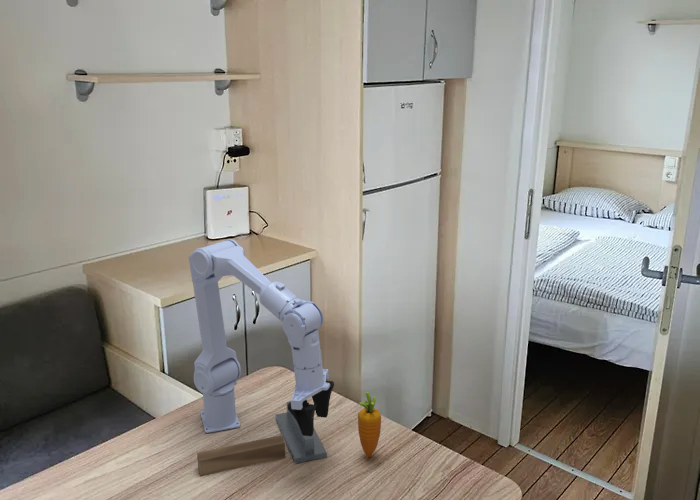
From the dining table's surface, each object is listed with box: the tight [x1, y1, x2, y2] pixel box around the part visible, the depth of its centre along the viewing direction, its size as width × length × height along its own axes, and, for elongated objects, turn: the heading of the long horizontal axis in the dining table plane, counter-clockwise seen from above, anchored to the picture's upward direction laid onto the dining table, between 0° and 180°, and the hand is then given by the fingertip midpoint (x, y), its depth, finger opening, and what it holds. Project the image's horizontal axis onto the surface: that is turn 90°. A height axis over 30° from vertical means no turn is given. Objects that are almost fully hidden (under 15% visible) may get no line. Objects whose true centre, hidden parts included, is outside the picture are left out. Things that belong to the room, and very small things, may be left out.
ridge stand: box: [275, 400, 328, 465], centre depth 143 cm, size 18×7×5 cm, turn 20°
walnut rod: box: [196, 434, 286, 477], centre depth 134 cm, size 3×18×4 cm, turn 111°
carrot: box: [357, 391, 382, 458], centre depth 134 cm, size 5×5×15 cm
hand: (315, 425), depth 130 cm, fingers open, 7 cm apart
